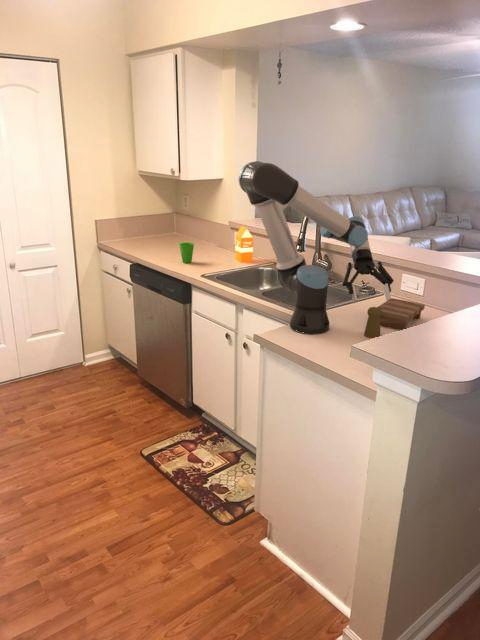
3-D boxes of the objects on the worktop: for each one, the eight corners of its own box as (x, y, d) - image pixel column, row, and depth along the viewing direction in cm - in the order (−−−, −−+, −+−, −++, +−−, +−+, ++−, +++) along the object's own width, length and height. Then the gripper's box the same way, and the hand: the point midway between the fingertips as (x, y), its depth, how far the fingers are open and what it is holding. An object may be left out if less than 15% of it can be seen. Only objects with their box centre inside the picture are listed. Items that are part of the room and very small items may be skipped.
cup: (192, 264, 295) (191, 245, 292) (177, 263, 297) (176, 244, 293) (196, 261, 304) (196, 242, 300) (181, 260, 305) (181, 242, 302)
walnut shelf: (406, 331, 197) (408, 316, 195) (371, 323, 204) (373, 309, 202) (422, 318, 212) (424, 304, 210) (390, 311, 220) (391, 298, 218)
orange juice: (246, 258, 312) (247, 225, 306) (252, 261, 305) (253, 227, 298) (235, 259, 310) (235, 226, 303) (240, 262, 302) (241, 228, 295)
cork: (377, 332, 195) (380, 305, 191) (382, 338, 189) (385, 310, 186) (362, 332, 195) (364, 305, 191) (366, 338, 189) (369, 310, 185)
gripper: (387, 256, 210) (398, 303, 202) (328, 258, 206) (338, 306, 198) (394, 247, 203) (406, 295, 195) (334, 248, 199) (344, 297, 191)
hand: (372, 300), depth 196 cm, fingers open, 13 cm apart
